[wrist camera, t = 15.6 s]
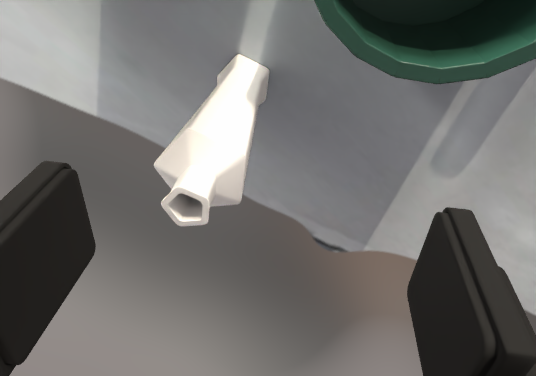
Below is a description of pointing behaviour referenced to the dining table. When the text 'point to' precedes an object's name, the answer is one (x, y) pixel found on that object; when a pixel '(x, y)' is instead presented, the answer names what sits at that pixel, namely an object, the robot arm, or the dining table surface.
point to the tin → (435, 36)
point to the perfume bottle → (214, 145)
